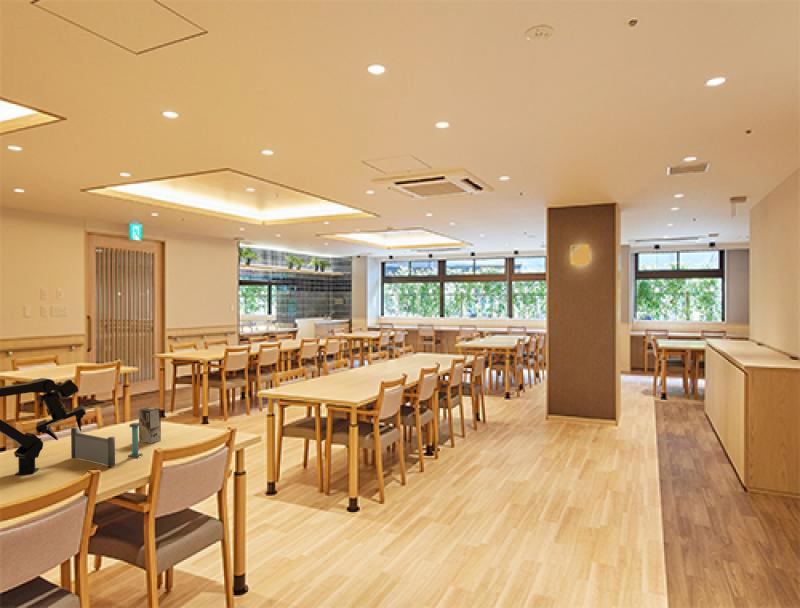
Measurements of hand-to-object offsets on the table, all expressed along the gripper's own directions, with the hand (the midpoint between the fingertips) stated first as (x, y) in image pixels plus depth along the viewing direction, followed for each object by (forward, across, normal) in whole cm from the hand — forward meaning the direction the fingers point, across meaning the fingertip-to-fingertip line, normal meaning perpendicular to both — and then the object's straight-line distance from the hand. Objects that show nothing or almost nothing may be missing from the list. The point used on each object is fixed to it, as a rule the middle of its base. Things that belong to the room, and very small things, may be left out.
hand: (69, 435), depth 233 cm
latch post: (+18, -20, +10) cm, 29 cm away
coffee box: (+26, -27, -14) cm, 40 cm away
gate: (+12, -5, +9) cm, 16 cm away
